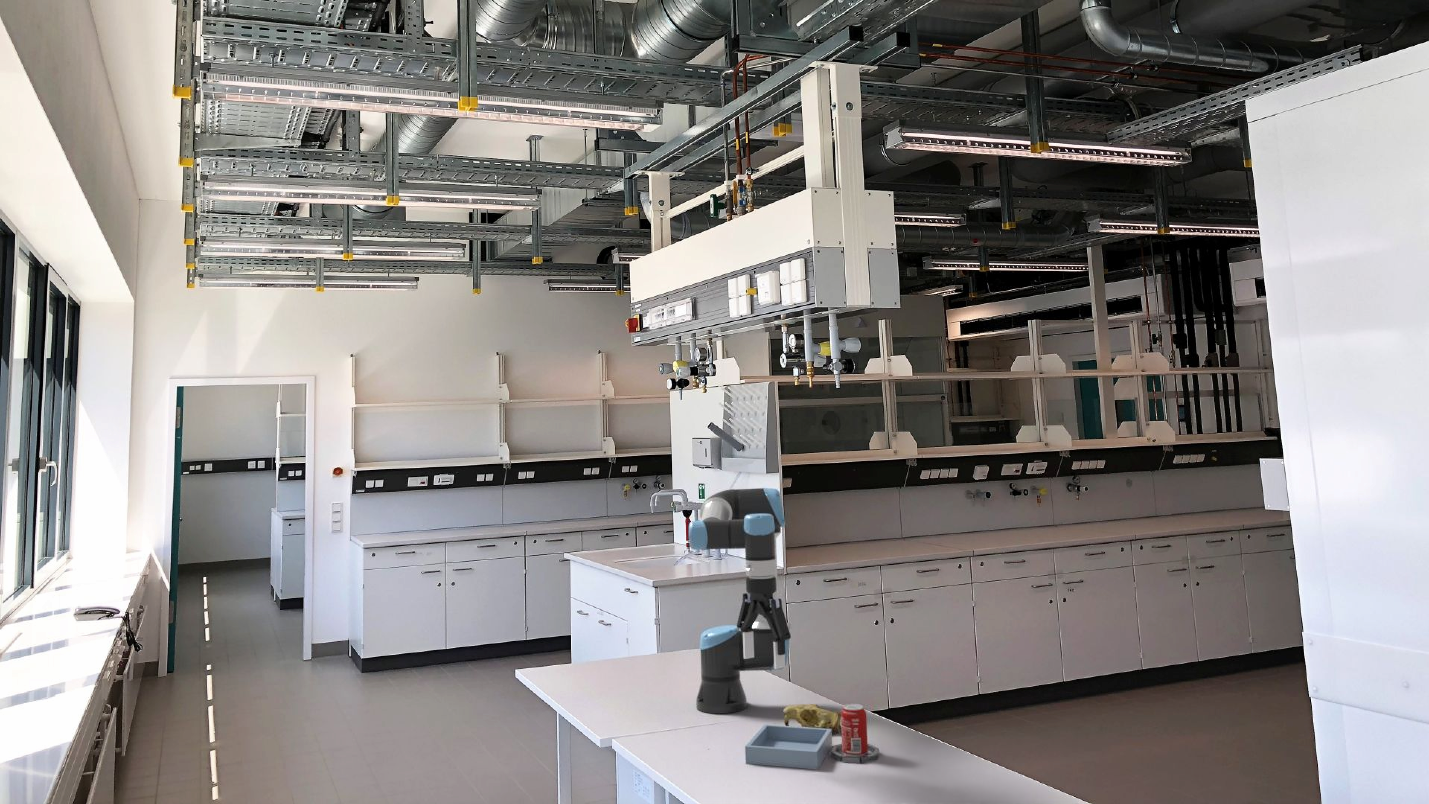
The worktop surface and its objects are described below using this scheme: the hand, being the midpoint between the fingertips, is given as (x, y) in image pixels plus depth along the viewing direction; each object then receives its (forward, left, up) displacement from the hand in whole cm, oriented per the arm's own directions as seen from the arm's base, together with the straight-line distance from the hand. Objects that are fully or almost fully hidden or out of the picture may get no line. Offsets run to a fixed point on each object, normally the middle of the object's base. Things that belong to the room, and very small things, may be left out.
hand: (763, 663), depth 230 cm
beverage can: (-10, +20, -25) cm, 33 cm away
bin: (-7, +4, -24) cm, 26 cm away
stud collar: (-10, +20, -24) cm, 33 cm away
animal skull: (-28, +6, -25) cm, 38 cm away
